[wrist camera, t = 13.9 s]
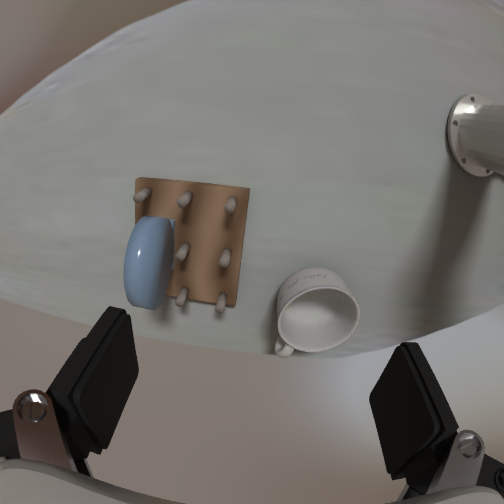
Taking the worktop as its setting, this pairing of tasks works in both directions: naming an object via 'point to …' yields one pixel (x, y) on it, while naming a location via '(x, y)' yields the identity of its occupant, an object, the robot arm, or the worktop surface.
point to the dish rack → (199, 235)
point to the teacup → (314, 312)
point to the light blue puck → (149, 261)
